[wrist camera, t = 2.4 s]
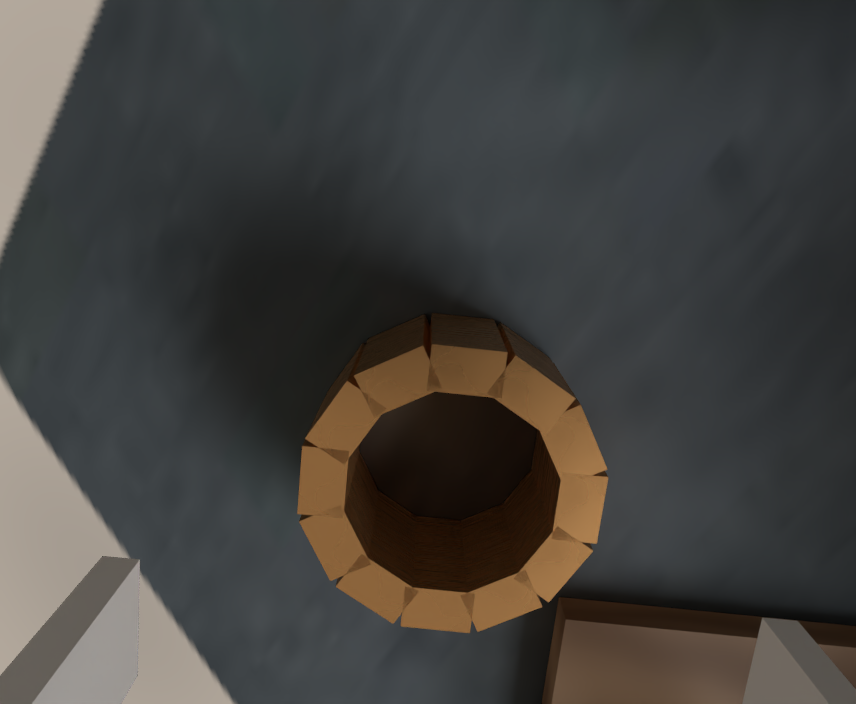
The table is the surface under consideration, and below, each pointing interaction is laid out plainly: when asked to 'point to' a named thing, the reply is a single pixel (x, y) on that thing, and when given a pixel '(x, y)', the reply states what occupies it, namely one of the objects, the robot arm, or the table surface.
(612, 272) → the table surface
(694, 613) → the post block
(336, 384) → the orange ring
